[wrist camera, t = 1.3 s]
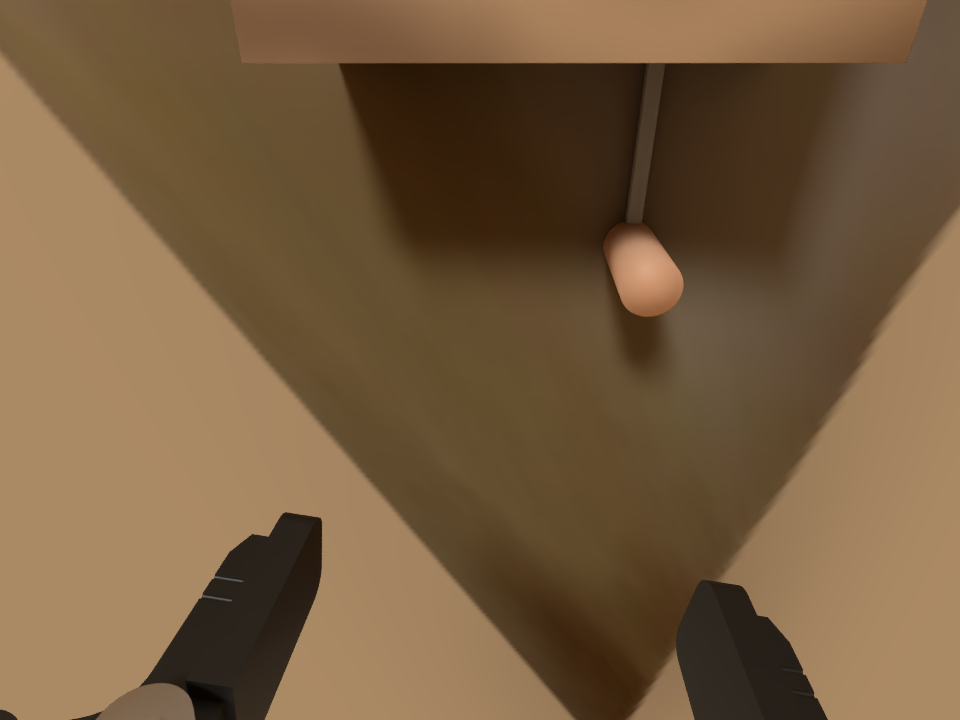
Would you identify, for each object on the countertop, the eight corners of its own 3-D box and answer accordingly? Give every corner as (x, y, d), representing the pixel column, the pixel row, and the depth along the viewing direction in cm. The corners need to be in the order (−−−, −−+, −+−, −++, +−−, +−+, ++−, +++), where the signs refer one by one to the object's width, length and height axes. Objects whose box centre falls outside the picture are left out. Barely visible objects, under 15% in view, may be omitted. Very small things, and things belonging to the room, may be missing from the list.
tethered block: (624, -201, 19) (658, -295, 14) (759, -205, 19) (845, -305, 14) (579, 268, 28) (590, 314, 23) (671, 270, 28) (703, 318, 23)
